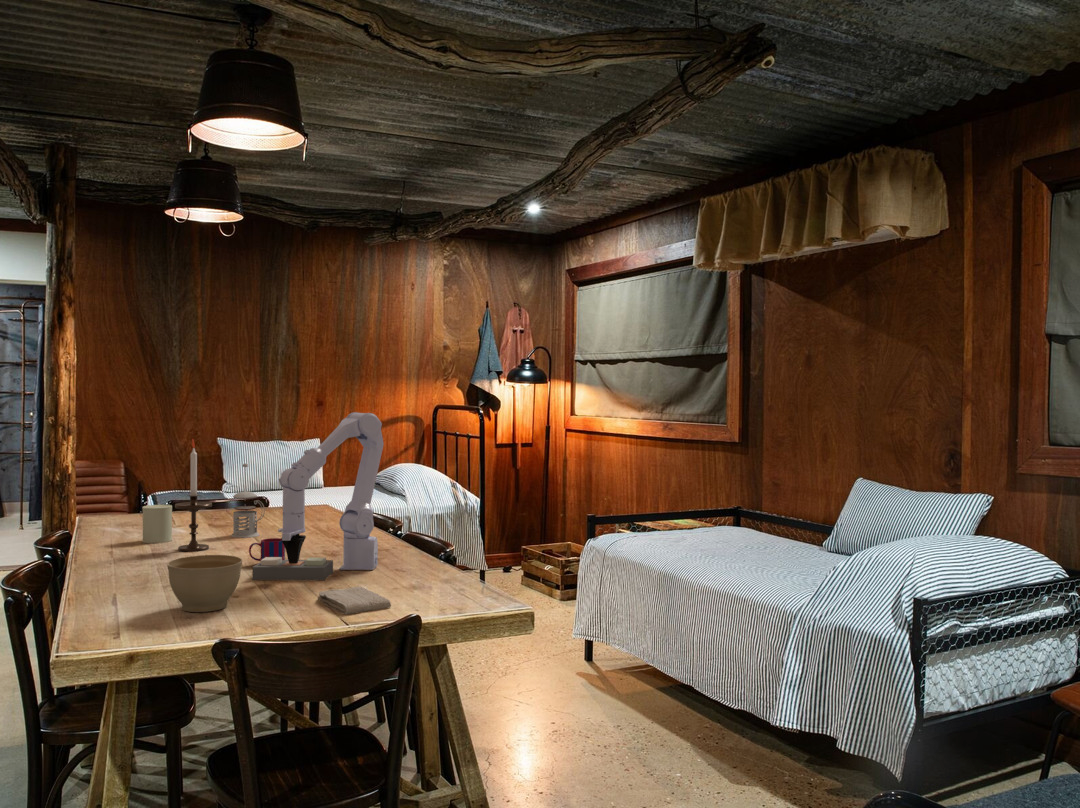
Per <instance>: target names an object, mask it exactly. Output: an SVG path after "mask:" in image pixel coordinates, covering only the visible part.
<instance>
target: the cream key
mask: <svg viewBox="0 0 1080 808" xmlns="http://www.w3.org/2000/svg"><path fill="white" fill-rule="evenodd" d="M260 562H261V565H279V564H281V563H282V557H265V558H264V559H262V560H261V561H260Z"/></svg>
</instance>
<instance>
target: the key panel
mask: <svg viewBox="0 0 1080 808" xmlns="http://www.w3.org/2000/svg"><path fill="white" fill-rule="evenodd" d="M306 560H307V559H305V560H304V559H299V560H298V561H304V563H303V564H302V565H300V566H292V565H283V564H284V563H286V562H287V561H288V559H285V560H282V563H281V564H279V565H261V561H259V563H257V564H255V565H253V566H252V567H251V569H252V571H251V573H252V575H251V576H252V577H251V578H252V581H325V580H326V579H328V578H329V577H330V576H331V575H332V574H333V573H334V560H333V559H331V560H329V559H328V560H327V559H326V563H325V564H324V565H323V566H305V561H306Z"/></svg>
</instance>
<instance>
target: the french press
mask: <svg viewBox="0 0 1080 808" xmlns="http://www.w3.org/2000/svg"><path fill="white" fill-rule="evenodd" d="M241 467H243V468H244V488H246V483H247V482H246V471H247V469H246V468H248V467H249V465H248V463H243V464H242V466H241ZM232 498H233V499H239V500H240V499H241V500H242V499H243V500H246V499H255V498H258V495H257V494H255V493H254V492H252V491H247V490H244V491H239V492H238V493H237V492H236V493H235V494H234V495H232ZM253 503H254V505H257V504H259V505H260V508H261V510H263V513H261V514H260V517H259V518H258V511H257V510H256V508H257V507H256V506H254V505H248V506H247V505H244V506H243V505H242V506H235V507H234V510H235V511H233V518H232V519H233V520H232V521H233V528H232V529H233V531H232V532H233V533H232V534H230V538H236V539H237V538H238V539H239V538H240V539H246V538H256V537H259V536H260V533H259V532H258V522H259V521H261V520H262V519H263V517H264V516H265V510H266V509H265V505H264V503H263V502H262V501H260V500H259V499H257V500H254V501H253Z"/></svg>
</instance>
